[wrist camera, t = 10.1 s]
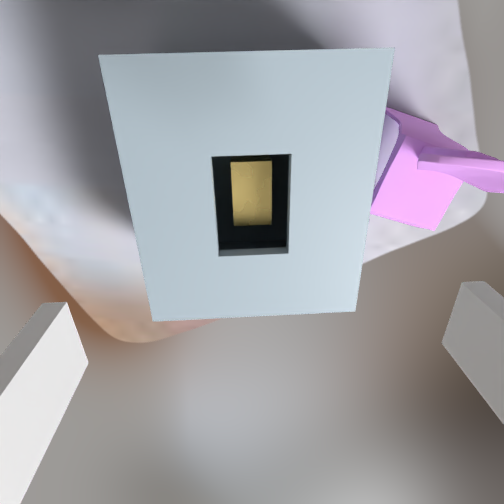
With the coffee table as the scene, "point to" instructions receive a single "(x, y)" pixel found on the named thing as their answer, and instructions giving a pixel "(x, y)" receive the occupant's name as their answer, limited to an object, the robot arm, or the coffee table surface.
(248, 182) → the block
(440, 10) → the coffee table surface
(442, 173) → the toy chair
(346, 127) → the coin box
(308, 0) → the coffee table surface
